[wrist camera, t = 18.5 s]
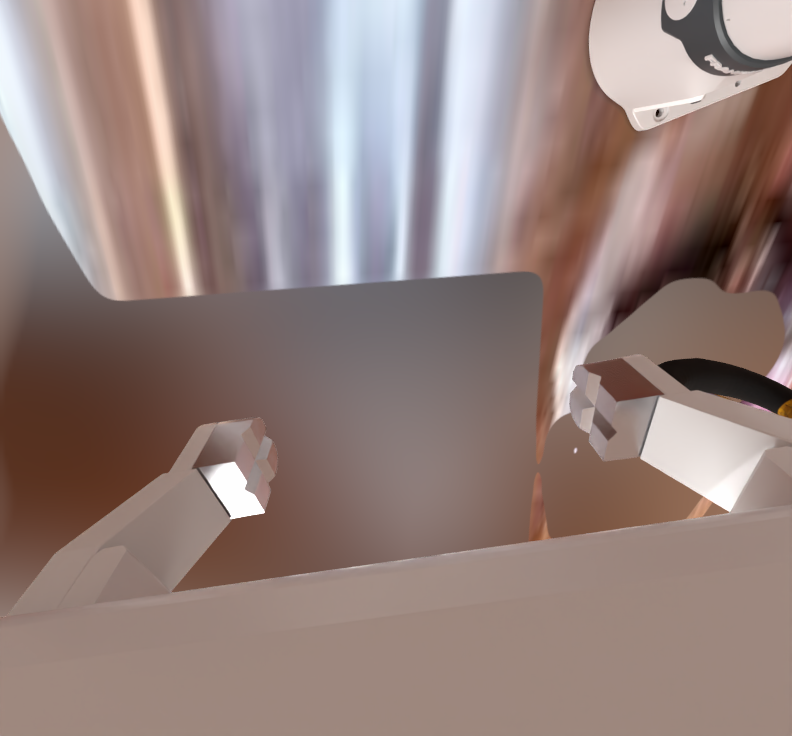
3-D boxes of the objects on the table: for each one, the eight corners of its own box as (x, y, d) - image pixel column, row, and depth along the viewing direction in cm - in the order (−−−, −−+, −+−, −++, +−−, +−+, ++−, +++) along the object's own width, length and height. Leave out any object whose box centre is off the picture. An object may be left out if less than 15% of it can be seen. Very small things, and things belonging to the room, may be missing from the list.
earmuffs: (596, 387, 59) (685, 484, 42) (618, 341, 54) (728, 430, 38) (748, 394, 62) (889, 488, 45) (781, 352, 57) (951, 438, 40)
